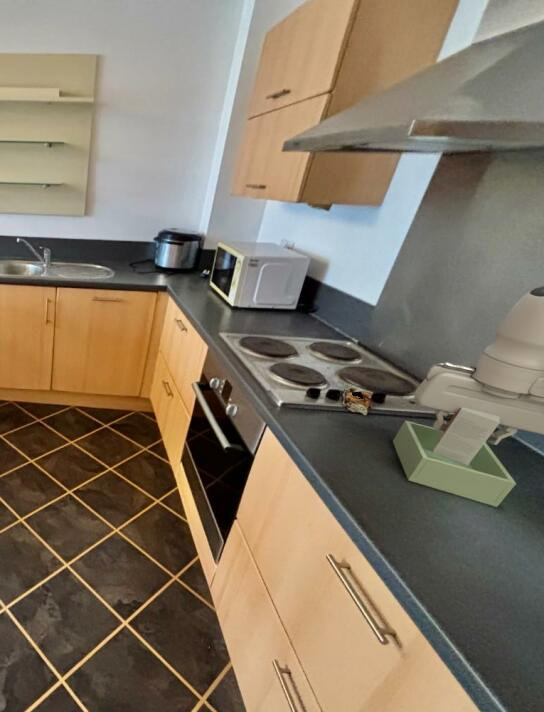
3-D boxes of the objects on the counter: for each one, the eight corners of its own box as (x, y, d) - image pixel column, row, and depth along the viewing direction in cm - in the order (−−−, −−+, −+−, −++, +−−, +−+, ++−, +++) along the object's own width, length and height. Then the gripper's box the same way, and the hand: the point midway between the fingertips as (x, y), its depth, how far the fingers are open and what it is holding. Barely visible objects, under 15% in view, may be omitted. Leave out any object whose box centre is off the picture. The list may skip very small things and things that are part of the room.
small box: (438, 438, 88) (466, 396, 83) (473, 451, 85) (504, 408, 80) (430, 452, 84) (460, 408, 79) (467, 466, 80) (500, 421, 75)
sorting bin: (468, 462, 90) (484, 440, 87) (496, 507, 78) (516, 483, 75) (392, 441, 95) (405, 420, 93) (407, 480, 83) (422, 457, 80)
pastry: (344, 411, 107) (350, 399, 105) (337, 391, 116) (342, 380, 115) (377, 419, 104) (383, 407, 102) (366, 398, 114) (372, 386, 112)
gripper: (439, 365, 77) (403, 426, 84) (594, 397, 69) (540, 462, 76) (430, 354, 82) (396, 412, 89) (573, 382, 74) (524, 444, 81)
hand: (463, 435), depth 82 cm, fingers closed on small box, 6 cm apart
